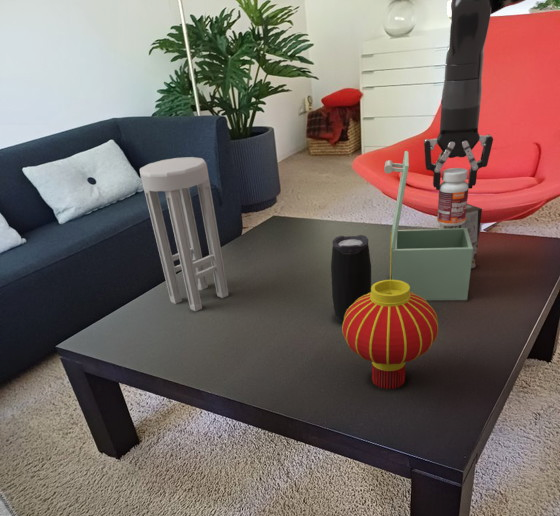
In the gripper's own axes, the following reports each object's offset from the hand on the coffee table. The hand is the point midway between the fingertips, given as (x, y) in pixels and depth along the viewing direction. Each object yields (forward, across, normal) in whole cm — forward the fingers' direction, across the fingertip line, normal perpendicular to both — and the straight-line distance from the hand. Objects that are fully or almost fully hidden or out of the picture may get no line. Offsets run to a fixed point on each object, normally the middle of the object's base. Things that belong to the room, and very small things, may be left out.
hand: (453, 188), depth 115 cm
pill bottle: (+8, 0, 0) cm, 8 cm away
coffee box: (+27, +4, +19) cm, 33 cm away
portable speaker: (+26, -22, -12) cm, 36 cm away
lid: (+3, -11, +4) cm, 12 cm away
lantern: (+26, -13, -37) cm, 47 cm away
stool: (+26, -64, -1) cm, 69 cm away
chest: (+26, -4, +4) cm, 27 cm away
